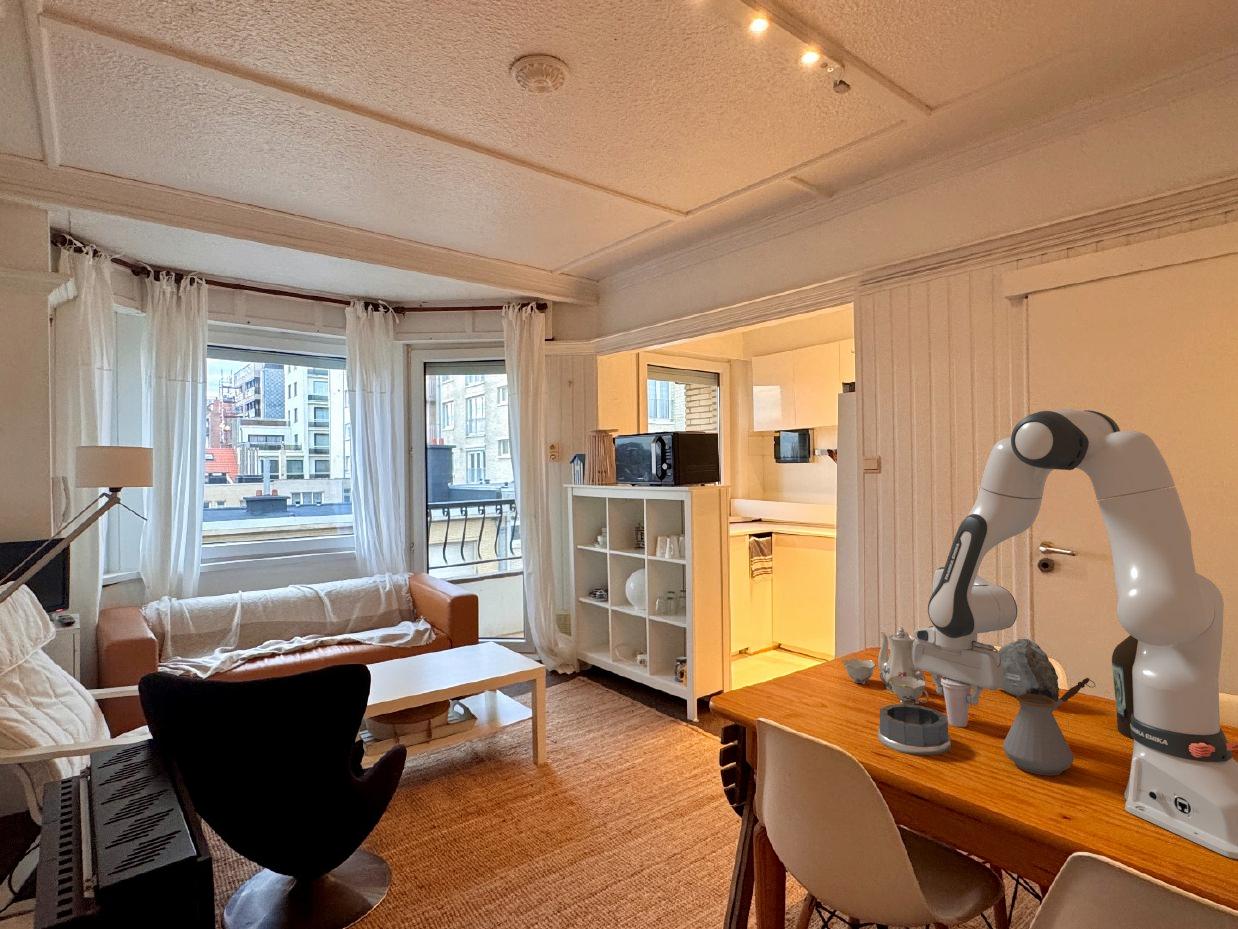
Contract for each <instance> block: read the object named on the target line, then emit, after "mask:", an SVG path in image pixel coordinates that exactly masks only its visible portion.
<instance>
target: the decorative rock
mask: <svg viewBox="0 0 1238 929" xmlns="http://www.w3.org/2000/svg"><path fill="white" fill-rule="evenodd" d="M998 651H999V652H1000V654H1001V665H1002V670H1003V677H1004V685H1003V686H1002V687H1001V688H1000V689H1001V690H1003V691H1004V692H1005V693H1009V694H1010V695H1013V696H1014V697H1015V696H1016V697H1017V696H1018V695H1020V694H1035V695H1041V696H1045V697H1048V698H1051V699H1053V700H1054V701H1055V702H1057V701H1058V700H1059V699H1060V698H1059V697H1060V688H1059V682H1058V681H1059V680H1058V679H1059V675H1058V673H1057V672H1056V668H1055V666H1054V665H1053V664H1052V662H1051V661H1050V660H1049V657H1048V654H1047V653H1046V652H1045V651H1043V650H1042V649H1041V647H1040V645H1038V644H1037V643H1036V642H1034V641H1032V640H1031V639H1030V638H1029V639H1028V638H1018V639H1017V640H1016V641H1013V642H1010V643H1007V644H1005V645H1003V646H1001V647H1000V648H999V650H998Z"/></svg>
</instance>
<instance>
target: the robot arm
mask: <svg viewBox="0 0 1238 929" xmlns="http://www.w3.org/2000/svg"><path fill="white" fill-rule="evenodd" d="M1075 469H1078V470H1080V471H1083V472H1084V473H1085V474H1086V475H1087V476H1088V478H1089V480H1090V481H1091V484H1092V487H1093V490H1094V494H1095V497H1096V500H1097V504H1098V507H1099V510H1100V513H1101V514H1100V515H1101V518H1102V520H1103V524H1104V528H1105V530H1106V534H1107V537H1108V541H1109V546H1110V549H1111V550H1110V551H1111V557H1112V565H1113V566H1112V567H1113V576H1114V583H1115V589H1116V596H1117V607H1116V614H1117V618H1118V622H1119V623H1120V625H1121V626H1122V628H1123V630H1125V631H1126V633H1127V634H1128V635H1129V636H1130V635H1131V636H1132V637H1134V638H1135V639H1137V640H1138V645H1137V652H1136V657H1135V662H1134V665H1133V669H1132V678H1133V707H1134V713H1133V714H1132V715H1131V723H1130V728H1131V736H1132V737H1133V738H1134V739H1133V748H1132V756H1131V761H1130V762H1131V763H1130V772H1129V777H1128V781H1127V784H1126V785H1127V786H1126V789H1125V791H1124V792H1123V795H1124V798H1125V800H1126V801H1125V805H1124V806H1125V807H1124V809H1125V811H1126V812H1128V813H1129V814H1131V815H1133V816H1136V817H1139V818H1141V819H1143V820H1145V821H1147V822H1150V823H1152V824H1154V825H1155V826H1158V827H1160V828H1162V829H1165V830H1167V831H1169V832H1171V833H1173V834H1176V835H1178V836H1179V837H1182V838H1185V839H1187V840H1188V841H1191V842H1194V843H1196V844H1198V845H1200V846H1202V847H1205V848H1206V849H1209V850H1211V851H1213V852H1215V853H1217V854H1219V855H1221V856H1225V857H1226V858H1227V857H1228V858H1230V859H1235V860H1238V762H1237V761H1236V760H1235V759H1234V754H1233V751H1236V750H1237V751H1238V747H1236V746H1238V742H1237V741H1236V742H1235V741H1234V742H1229V741H1228V739H1227V737H1226V735H1225V733H1224V730H1223V729H1222V728H1221V721H1220V720H1221V719H1220V694H1219V693H1220V691H1219V690H1220V688H1219V685H1220V684H1219V683H1220V682H1219V680H1220V677H1219V676H1220V667H1221V659H1222V658H1221V656H1222V647H1223V635H1224V634H1223V632H1224V631H1223V630H1224V596H1223V595H1222V593H1221V591H1220V589H1219V588H1218V587H1217V585H1216V584H1215V583H1214V582H1213V581H1211V580H1210V579H1209V578H1207V577H1206V576H1204V575H1202V574H1199V573H1197V571H1196V566H1195V560H1194V554H1193V547H1192V533H1191V528H1190V526H1189V523H1188V520H1187V517H1186V513H1185V511H1184V507H1183V505H1182V501H1181V499H1180V496H1179V493H1178V489H1177V487H1176V483H1175V481H1174V479H1173V475H1172V473H1171V471H1170V468H1169V466H1168V464H1167V463H1166V460H1165V459H1164V456H1163V455H1162V453H1161V451H1160V450H1159V448H1158V446H1157V444H1156V442H1154V440H1153V439H1152V438H1151V437H1150V435H1148V434H1146V433H1143V432H1141V431H1133V430H1121V429H1120V427H1119V426H1118V424H1117V423H1116V421H1115V420H1114V419H1113V418H1111V417H1110V416H1108V415H1106V414H1104V413H1101V412H1098V411H1094V410H1079V409H1077V410H1076V409H1072V408H1065V409H1064V408H1063V409H1053V410H1041V411H1036V412H1034V413H1031V414H1029V415H1027V416H1025V417H1023V418H1022V419H1021V420H1020V421H1018V422H1017V424H1016V425H1015V426H1014V428H1013V430H1012V433H1011V435H1010V436H1009V437H1005V438H1002V439H1000V440H998V441H997V442H996V443H995V444H994V445H993V447H992V449H991V451H990V453H989V456H988V458H987V462H986V463H985V467H984V470H983V474H982V478H981V482H980V487H979V491H978V495H977V497H976V499H975V502H974V504H973V507H972V508H971V509H970V512H969V513H968V514H967V516H966V517H965V518H964V519H963V520H962V521H961V523H960V525H959V526H958V529H957V531H956V534H955V536H954V539H953V542H952V544H951V548H950V550H949V554H948V556H947V559H946V562H945V565H944V566H941V567H939V568H936V570H935V572H933V573H934V574H933V579H932V588H931V593H932V594H931V596H930V597H929V601H928V604H927V615H928V617H929V620H930V622H931V623H932V625H930V626H926V627H922V628H918V629H915V630H914V631H913V637H914V638H915V639H914V643H913V664H914V666H915V667H916V668H917V669H920V670H921V671H923V672H928V673H930V675H931V676H930V678H931V680H932V681H933V683H934V685H935V686H936V687H935V688H936V689H935V690H936V691H935V692H936V694H939V695H941V696H944V691H943V685H942V684H941V678H943V677H947V678H951V679H954V680H958V681H961V682H965V683H968V684H971V690H973V691H972V692H971V694H970V695H967V699H968V700H967V702H968V703H969V705H972V706H976V705H978V704H979V696H980V694H982V693H983V690H985V689H986V690H990V691H996V690H999V689H1001V687H1002V686H1003V685H1004V677H1003V670H1002V665H1001V654H1000V652H999V650H998V649H997V648H996V647H995V646H994V645H993V644H992V645H991V644H989V643H988V644H986V643H983V642H980V641H978V634H984V633H985V634H986V633H990V632H998V631H1003V630H1006V629H1009V628H1011V627H1012V626H1013V625H1015V622H1016V620H1017V619H1018V618H1017V617H1018V605H1017V601H1016V600H1015V597H1014V596H1013V594H1012V593H1011V592H1010V590H1007V589H1006V588H1005V587H1003V586H1001V585H996V584H993V583H992V582H989V581H988V580H986V579H984V578H983V577H981V576H980V575H979V574H978V572H979V569H980V567H981V563H982V561H983V559H984V557H985V556H986V555H987V553H989V551H991V550H992V549H993V548H994V547H996V546H998V545H999V544H1001V543H1003V542H1005V541H1006V540H1009V539H1011V538H1013V537H1016V536H1018V535H1020V534H1022V533H1024V532H1026V531H1028V529H1030V528H1031V527H1032V525H1034V523H1035V521H1036V519H1037V517H1038V514H1039V512H1040V509H1041V505H1042V501H1043V496H1044V491H1045V486H1046V482H1047V479H1048V476H1049V475H1050V474H1051V472H1052V471H1054V470H1062V471H1072V470H1075Z"/></svg>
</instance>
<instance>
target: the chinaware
mask: <svg viewBox="0 0 1238 929" xmlns="http://www.w3.org/2000/svg"><path fill="white" fill-rule="evenodd" d="M879 634H880V636H881V638H882V642H881V646H880V650H879V654H878V659H877V661H878V663H877V664H878V669H879V670H880V675H879V678H880V680H881V681H882V682H883V683H884V685H885V689H886V690H888V691H890V692H893V693H894V695H895V696H896V697H897V698H898V699H899V702H900V704H908V705H919V704H920V703H923V704H926V703H928V701H929V699H930V698H929V694H928V692H927V691H926V690H925V687H926V685H927V681H926V680H927V679H926V676H925V675H924V672H925V671H923V670H920V669H917V668H916V667H915V666H914V664H913V643H914V641H915V640H916V639H915V638H914V636H911V635H909V633H908V632H907V631H905V629H904V627H902V626H900V627H899V628H898V629H897V631H895V632H894V634H891V635H887V634H886V632H884V631H880V632H879ZM889 643H890V646H889ZM889 647H890V650H889ZM842 664H843V665H844V667H845V670H846V673H847V675H848V677H850V678H851V679H852V680H853V683H855V682H856V683H855V684H857V683H862V684H861V685H865V684H866V683H867V681H868V680H870V678H872V675H873V674H874V670H875V668H877V664H875V662H874V661H872V660H870V659H869V660H868V659H867V660H863V659H860V658H856V657H855V658H850V659H849V660H846V659H844V660H842ZM865 682H866V683H865ZM923 693H924V694H925V695H926V701H922V700H921V699H920V698H921V697H922V695H923Z"/></svg>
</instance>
